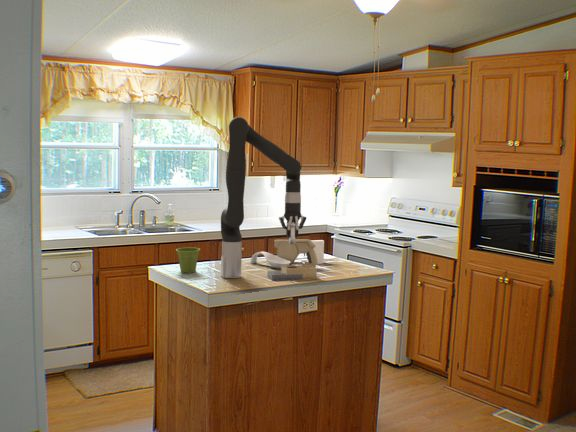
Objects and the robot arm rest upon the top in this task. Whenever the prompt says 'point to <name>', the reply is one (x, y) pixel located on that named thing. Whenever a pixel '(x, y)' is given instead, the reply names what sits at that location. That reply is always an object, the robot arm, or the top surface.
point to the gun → (296, 251)
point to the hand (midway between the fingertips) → (292, 237)
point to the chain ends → (294, 272)
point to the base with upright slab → (319, 250)
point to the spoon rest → (271, 260)
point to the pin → (292, 233)
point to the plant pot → (188, 259)
